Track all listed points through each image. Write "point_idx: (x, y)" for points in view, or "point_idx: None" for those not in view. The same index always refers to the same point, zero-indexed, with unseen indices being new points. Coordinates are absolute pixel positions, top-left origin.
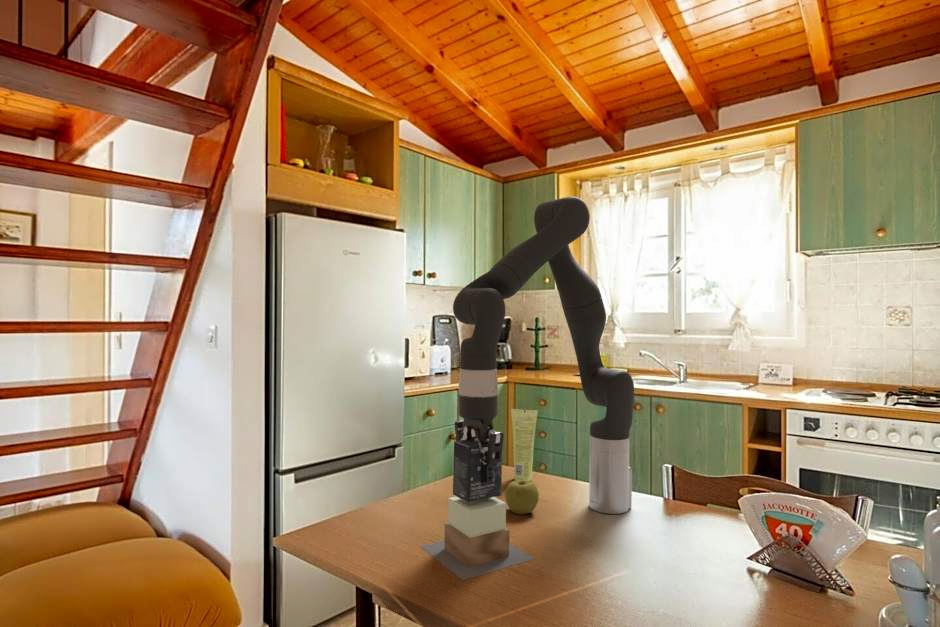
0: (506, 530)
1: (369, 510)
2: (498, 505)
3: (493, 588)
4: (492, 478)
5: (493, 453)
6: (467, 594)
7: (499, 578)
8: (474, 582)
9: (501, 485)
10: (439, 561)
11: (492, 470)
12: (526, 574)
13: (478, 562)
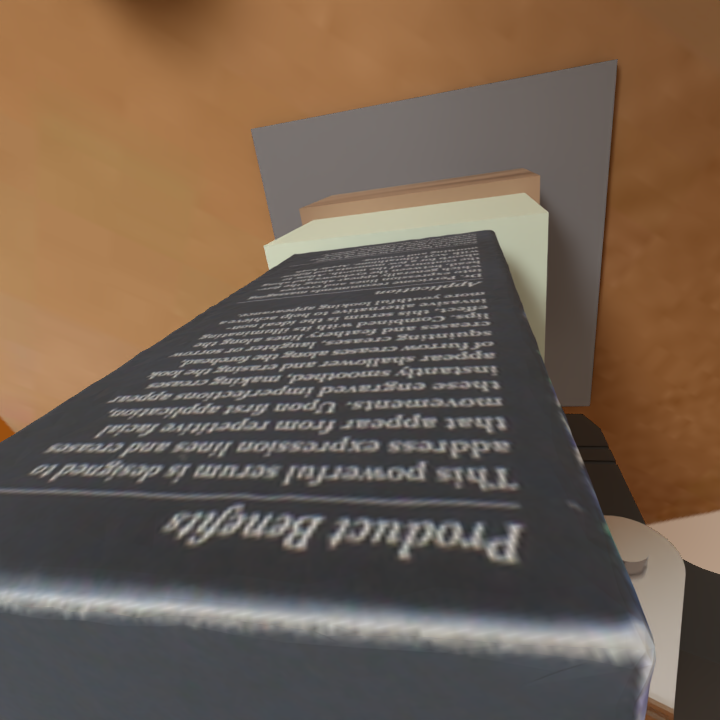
0: (539, 196)
1: (24, 420)
2: (544, 276)
3: (688, 340)
4: (600, 437)
5: (675, 677)
6: (661, 421)
7: (642, 287)
8: (610, 371)
9: (496, 243)
10: None
11: (631, 499)
12: (689, 173)
13: None
